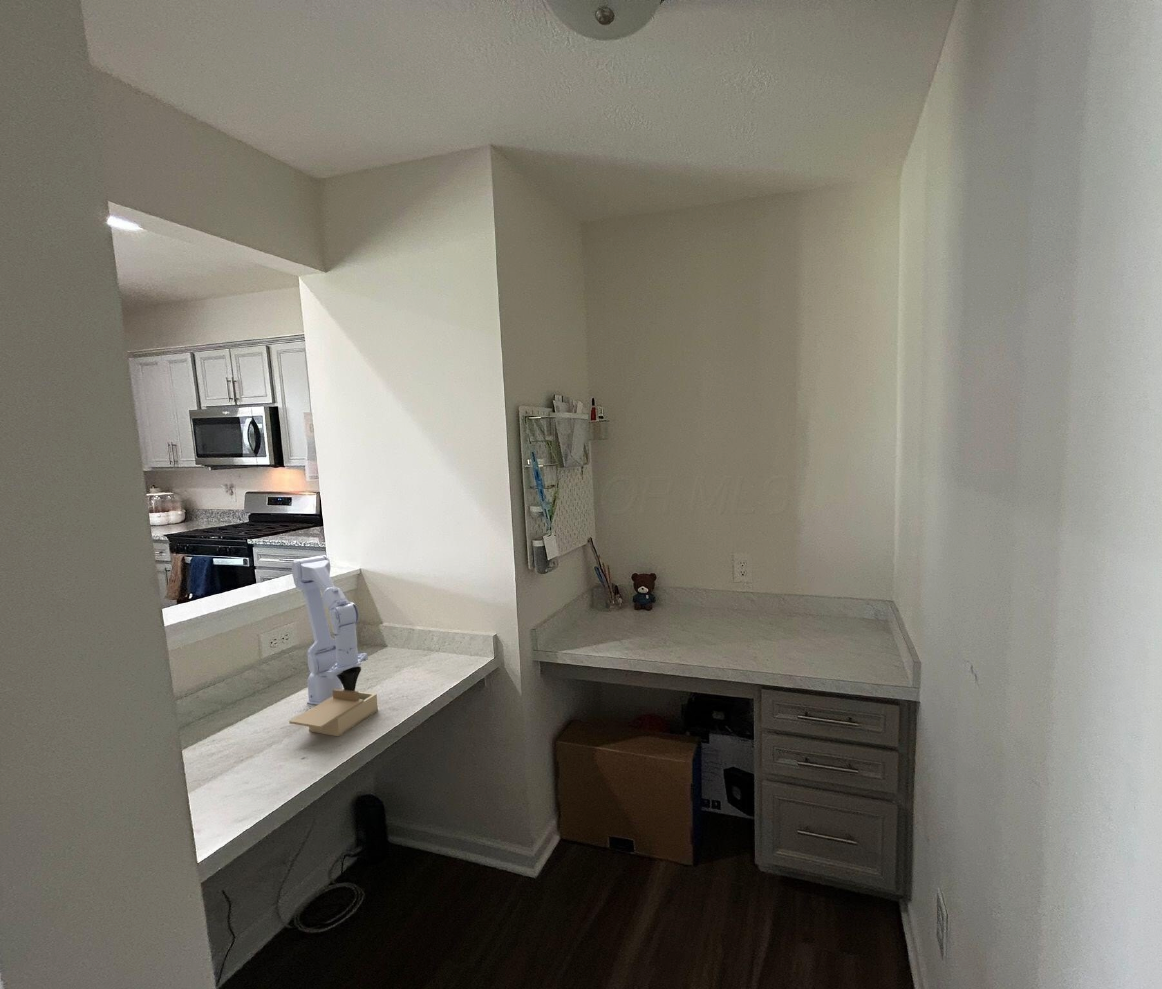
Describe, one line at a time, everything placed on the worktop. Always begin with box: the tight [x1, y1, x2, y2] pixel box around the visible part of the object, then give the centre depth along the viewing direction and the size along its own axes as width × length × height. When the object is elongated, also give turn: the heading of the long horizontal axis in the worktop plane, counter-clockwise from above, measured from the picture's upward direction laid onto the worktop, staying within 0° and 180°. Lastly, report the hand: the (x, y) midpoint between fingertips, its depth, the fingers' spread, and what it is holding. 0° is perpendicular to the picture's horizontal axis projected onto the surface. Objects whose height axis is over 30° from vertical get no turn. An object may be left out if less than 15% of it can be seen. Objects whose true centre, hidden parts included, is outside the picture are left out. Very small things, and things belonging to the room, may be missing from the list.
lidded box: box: [308, 690, 379, 737], centre depth 176 cm, size 16×10×5 cm, turn 160°
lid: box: [289, 688, 364, 729], centre depth 170 cm, size 16×10×3 cm, turn 160°
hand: (350, 693), depth 178 cm, fingers closed
